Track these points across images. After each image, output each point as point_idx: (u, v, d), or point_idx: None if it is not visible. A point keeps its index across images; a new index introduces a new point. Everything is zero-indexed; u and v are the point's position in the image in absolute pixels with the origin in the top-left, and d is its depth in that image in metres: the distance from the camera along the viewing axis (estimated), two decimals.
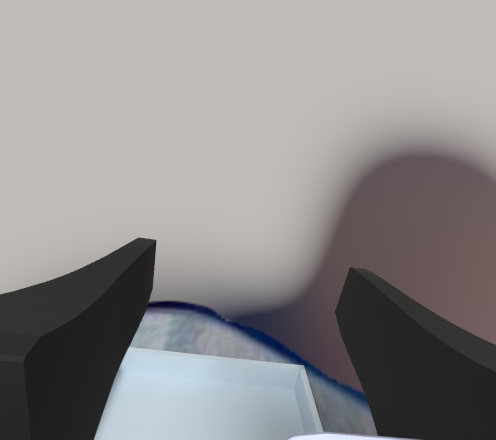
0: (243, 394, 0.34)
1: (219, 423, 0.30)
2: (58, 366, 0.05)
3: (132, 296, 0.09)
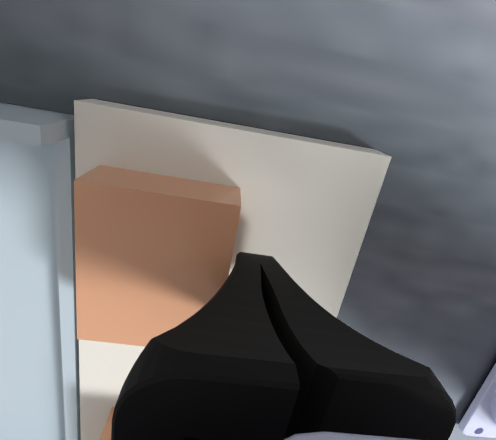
0: None
1: None
2: None
3: None
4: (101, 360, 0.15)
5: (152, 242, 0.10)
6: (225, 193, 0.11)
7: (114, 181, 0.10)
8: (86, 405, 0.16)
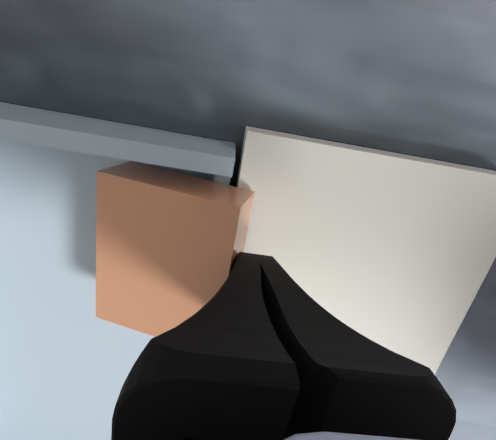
0: None
1: (71, 308, 0.15)
2: None
3: None
4: None
5: (159, 234, 0.11)
6: (234, 194, 0.11)
7: (131, 174, 0.11)
8: None
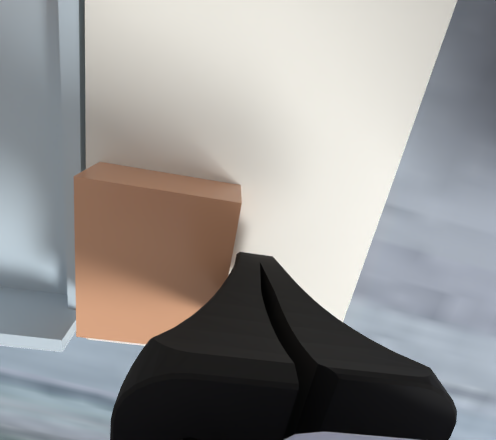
0: None
1: None
2: None
3: None
4: (116, 75, 0.10)
5: None
6: None
7: None
8: (94, 162, 0.11)
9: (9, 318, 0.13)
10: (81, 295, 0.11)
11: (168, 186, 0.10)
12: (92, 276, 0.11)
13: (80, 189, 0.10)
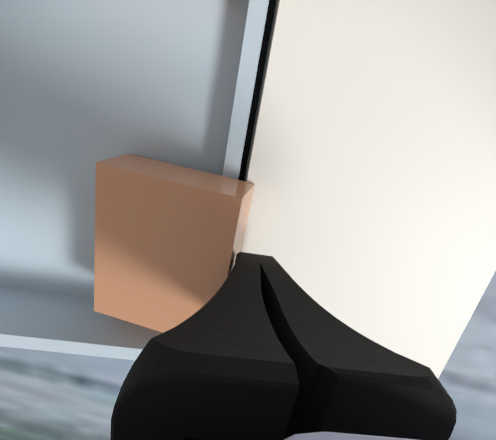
0: None
1: (72, 10, 0.11)
2: None
3: None
4: (289, 108, 0.11)
5: None
6: None
7: None
8: (254, 188, 0.12)
9: (154, 335, 0.14)
10: (98, 272, 0.12)
11: (177, 177, 0.11)
12: (108, 256, 0.12)
13: (100, 174, 0.11)
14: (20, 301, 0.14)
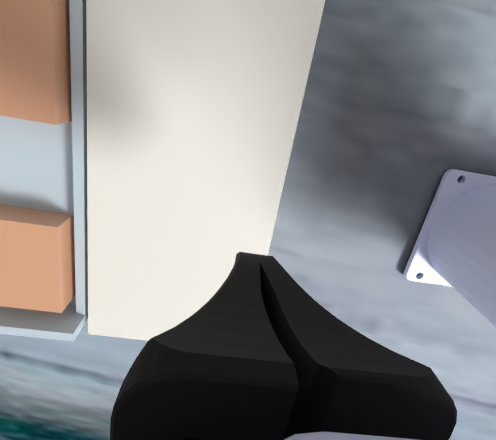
0: None
1: None
2: None
3: None
4: (105, 184, 0.18)
5: None
6: None
7: None
8: (92, 229, 0.20)
9: (40, 320, 0.21)
10: None
11: (19, 218, 0.19)
12: None
13: None
14: None
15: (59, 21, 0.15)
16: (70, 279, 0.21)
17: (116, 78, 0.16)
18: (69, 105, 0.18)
